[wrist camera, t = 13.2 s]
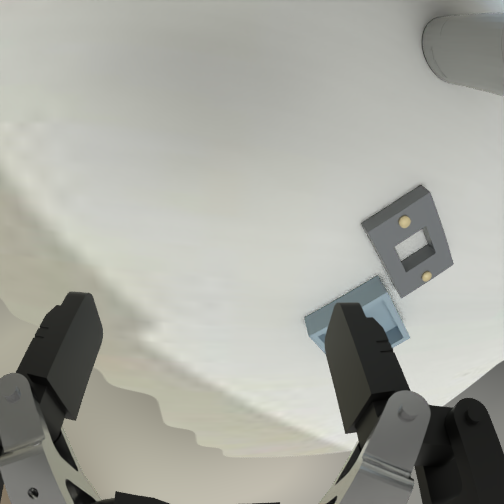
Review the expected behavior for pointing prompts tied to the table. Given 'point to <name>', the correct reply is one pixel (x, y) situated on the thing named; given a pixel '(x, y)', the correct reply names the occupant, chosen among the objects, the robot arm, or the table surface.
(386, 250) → the fuse block
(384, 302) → the parts tray
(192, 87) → the table surface
